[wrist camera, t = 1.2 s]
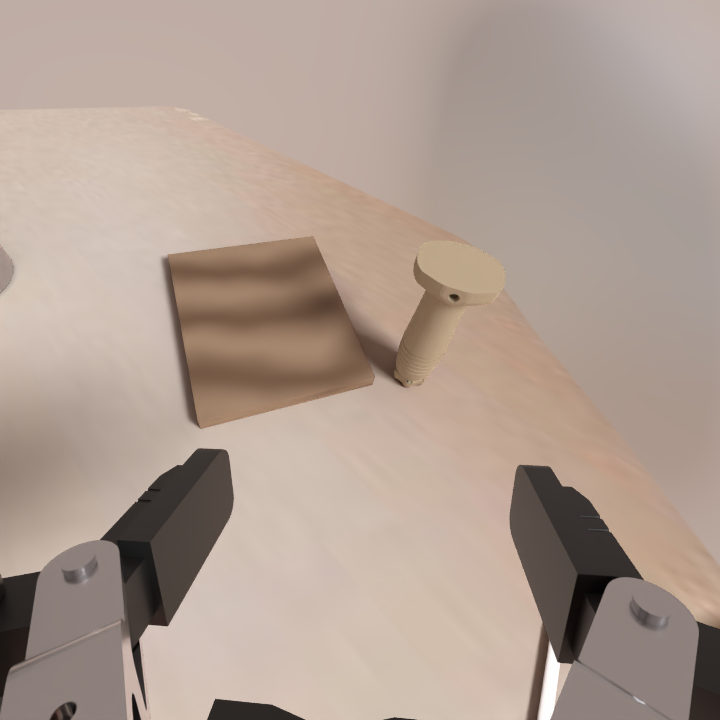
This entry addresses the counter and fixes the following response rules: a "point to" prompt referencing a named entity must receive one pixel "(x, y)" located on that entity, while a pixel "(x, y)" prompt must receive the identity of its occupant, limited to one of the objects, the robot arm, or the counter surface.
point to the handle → (444, 303)
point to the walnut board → (263, 329)
